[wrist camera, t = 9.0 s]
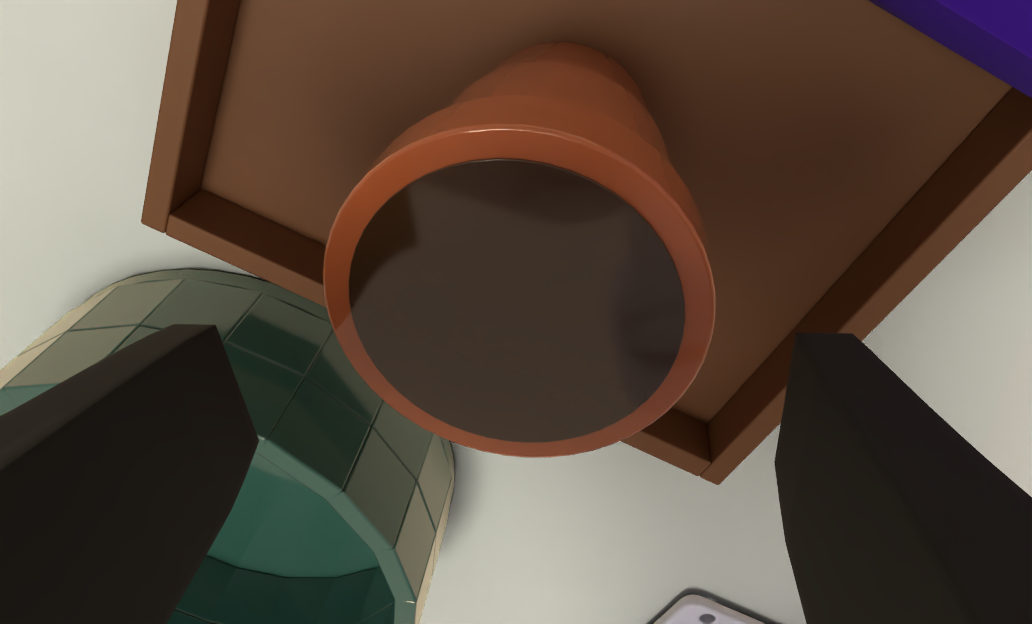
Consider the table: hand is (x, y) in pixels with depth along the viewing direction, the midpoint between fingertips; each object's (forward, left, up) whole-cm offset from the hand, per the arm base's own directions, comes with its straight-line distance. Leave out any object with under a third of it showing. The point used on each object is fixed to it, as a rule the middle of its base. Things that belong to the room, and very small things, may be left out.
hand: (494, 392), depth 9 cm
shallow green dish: (+4, +14, -9) cm, 17 cm away
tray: (0, 0, -9) cm, 9 cm away
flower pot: (0, 0, -8) cm, 8 cm away
